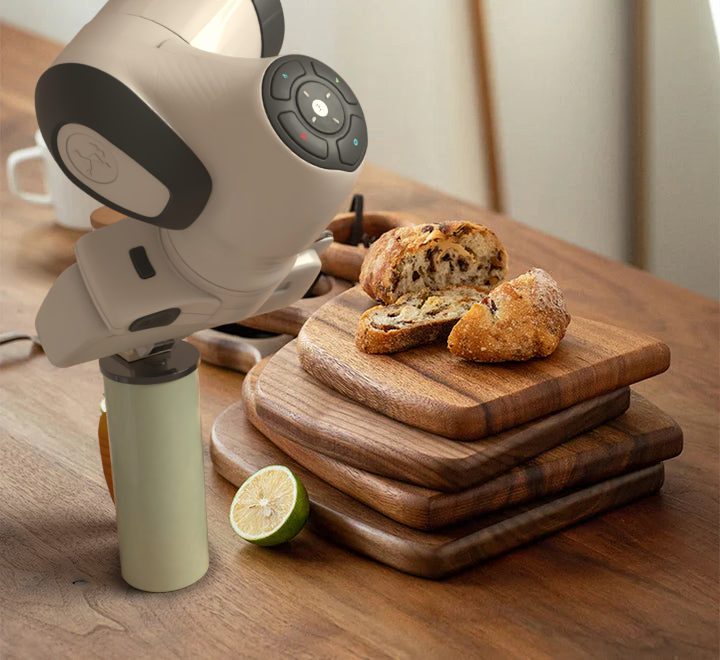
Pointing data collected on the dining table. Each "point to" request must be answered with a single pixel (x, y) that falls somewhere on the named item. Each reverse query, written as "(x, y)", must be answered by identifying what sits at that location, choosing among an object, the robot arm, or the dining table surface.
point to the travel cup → (158, 467)
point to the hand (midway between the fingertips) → (152, 344)
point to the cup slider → (134, 355)
